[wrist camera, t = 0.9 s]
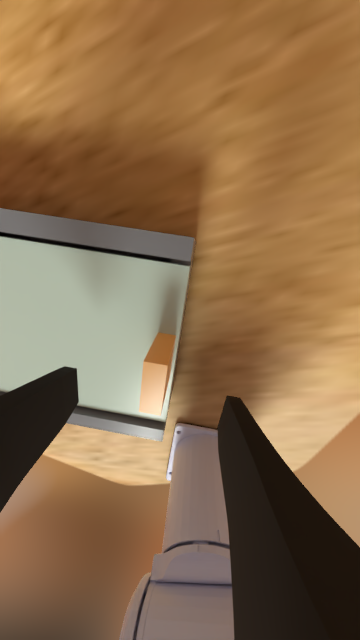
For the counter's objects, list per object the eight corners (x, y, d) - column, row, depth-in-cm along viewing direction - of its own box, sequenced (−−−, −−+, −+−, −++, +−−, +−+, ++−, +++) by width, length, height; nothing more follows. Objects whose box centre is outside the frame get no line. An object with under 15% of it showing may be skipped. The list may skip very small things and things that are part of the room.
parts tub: (171, 393, 20) (162, 441, 15) (17, 365, 21) (-41, 402, 16) (196, 241, 15) (194, 237, 10) (-11, 210, 16) (-111, 191, 11)
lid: (166, 416, 16) (156, 469, 12) (-30, 379, 16) (-100, 418, 13) (190, 265, 12) (186, 273, 8) (-76, 223, 12) (-202, 211, 8)
